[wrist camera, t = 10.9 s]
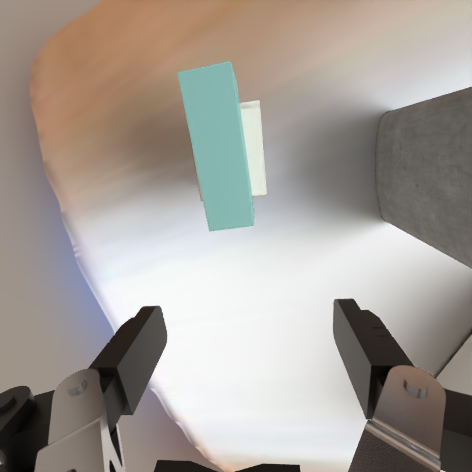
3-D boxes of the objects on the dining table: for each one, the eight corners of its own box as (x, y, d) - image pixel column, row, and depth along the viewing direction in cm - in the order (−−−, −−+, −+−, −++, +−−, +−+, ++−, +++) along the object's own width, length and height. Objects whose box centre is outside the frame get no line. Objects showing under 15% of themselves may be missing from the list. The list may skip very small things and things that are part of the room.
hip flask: (403, 220, 38) (545, 288, 19) (375, 224, 39) (486, 294, 20) (403, 108, 33) (594, 52, 14) (371, 115, 34) (514, 70, 15)
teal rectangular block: (194, 89, 26) (177, 72, 20) (236, 80, 25) (230, 60, 20) (218, 216, 30) (209, 231, 25) (254, 211, 30) (253, 225, 24)
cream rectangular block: (204, 121, 36) (186, 111, 27) (259, 113, 35) (259, 100, 26) (214, 189, 39) (201, 201, 30) (264, 184, 38) (266, 194, 29)
